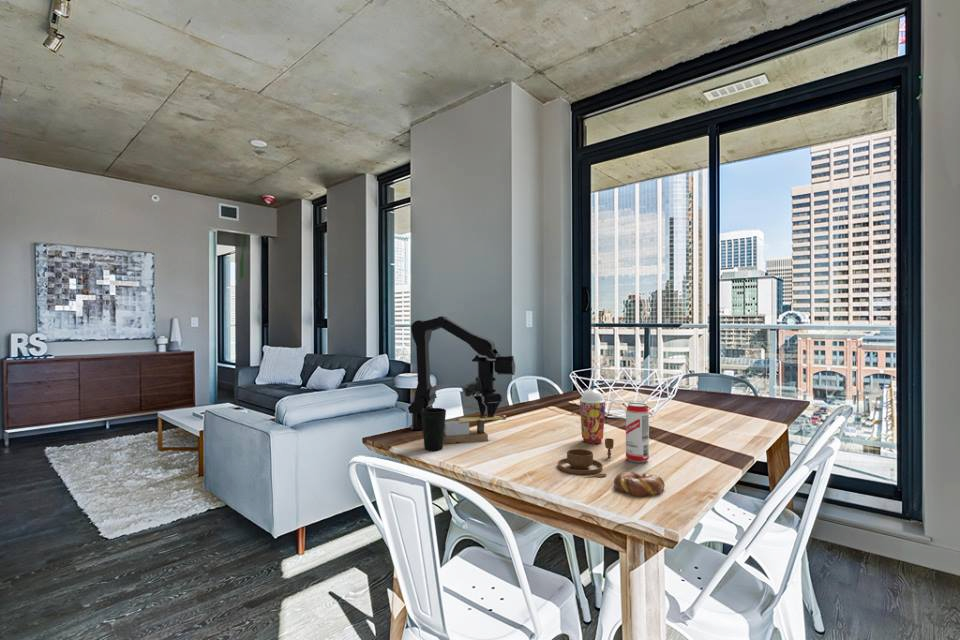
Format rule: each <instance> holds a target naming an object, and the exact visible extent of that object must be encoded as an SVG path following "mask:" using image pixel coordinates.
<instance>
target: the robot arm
mask: <svg viewBox="0 0 960 640" xmlns="http://www.w3.org/2000/svg"><path fill="white" fill-rule="evenodd" d="M440 329H443V330H444V331H446V332H447V333H450V334H451V335H452V336H455V337H456V338H458V339H460V340H462V341H463V342H465V343H466V344H467V345H468V346H470V347H471V348H472V350H474V351H475V352H476V353H477V354H476V355H475V356H474V358H472V360H471V362H472V363H473V362H475V363H477V376H475V381H472V382H469V383H467V384H464V385H462V386H461V390H462V393H463V396H465V397H472V399H474V400H475V401H476V403H477V406H478V411H479V415H480V416H481V417H485V413H486V417H490V416H495V413H496V411H497V409H498V408H499V405H500V404H501V402H503V396H502V395H501V393H499V392H498V391H496V389H495V386H494V384H495V381H496V377H495V376H494V374H495V373H496V374H497V375H498V376H515V375H516V374H515V373H516V362H515V355H508V356H506V355H501V354H500V353H499V351H498V350H497V348H496V344H495V342H494V341H493V340H492V339H490V338H488V337H485V336H482V335H479V334H476V333H473V332H471V331H470V330H468V329H467V328H465V327H463V326H462V325H460V324H458V323H456V322H455V321H453V320H451V319H450V318H449V317H447V316H442V315H441V316H438V317H434V318H432V319H426V320H424V319H423V320H415V321H414V322H413V323H412V324H411V326H410V330H411V336H412V339H413V341H414V343H415V346H416V347H415V348H416V350H415V351H416V352H415V353H416V369H417V370H416V372H417V374H416V375H417V376H416V377H417V385H416V389H415V392H414V399H413V402H412V403H411V404H409V406H408V407H407V410H408V412H409V414H411V425H409V428H410V429H411V430H412V431H419V430H420V431H421V430H422V431H423V425H422V414H421V410H423V409H427V408H432V405H434V404H435V401H436V399H437V394H436V392H437V387H436V386H433V385H432V383H431V375H430V374H431V373H430V372H431V369H430V366H431V365H430V349H429V347H430V342H431V338H432V333H433V332H434V331H436V330H440ZM494 372H495V373H494ZM480 416H479V417H480ZM487 421H488V422H491V421H492V420H487ZM412 427H414V428H412Z"/></svg>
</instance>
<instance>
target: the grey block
mask: <svg viewBox="0 0 960 640" xmlns="http://www.w3.org/2000/svg"><path fill="white" fill-rule="evenodd" d="M469 431H470V421H459V420H449V421H448V420H447V421H446V420H445V428H444V435H445V437H449V436H464V435H469Z"/></svg>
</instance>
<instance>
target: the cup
mask: <svg viewBox="0 0 960 640" xmlns="http://www.w3.org/2000/svg"><path fill="white" fill-rule="evenodd" d="M446 413H447V409H445V408H441V407H430V408H427V409H423V410H421V414H422V425H423V430H422V435H423V446H424V450H425V451H426V452H440V451H442V450H443V448H444V444H443V439H444V428H445V421H446V417H447V414H446ZM441 449H442V450H441ZM439 450H440V451H439Z"/></svg>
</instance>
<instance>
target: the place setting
mask: <svg viewBox="0 0 960 640" xmlns="http://www.w3.org/2000/svg"><path fill="white" fill-rule="evenodd" d="M614 445H615V444H614V438H610V437H609V438H607V437H606V438H605V439H604V447H605V448H606V449H607V453H606V454H607V457H608V459H612V456H611V455H612V452H611V451H612V449H613V448H614ZM565 464H569V466H571V467H572V468H568V467H566V466H563V465H565ZM592 465H593V466H595V467H597V468H595V469H588V468H590V467H591V466H592ZM557 466H558V469H559V470H561V471H563V472H564V473H566V474H567V473H568V474H573V475H579V476H580V475H583V476H584V475H586V476H584V477H582V478H583V479H589V478H600V479H601V478H604V477H606V476H607V473H600V472H601V471H602V470H603V463H602V462H600V461H598V460H595V459H594V452H593V451H592V450H589V449H584V448H573V449H569V450H567V451H566V458H562V459H560V460H558V461H557ZM587 475H588V476H587ZM589 475H590V476H589Z"/></svg>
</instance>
